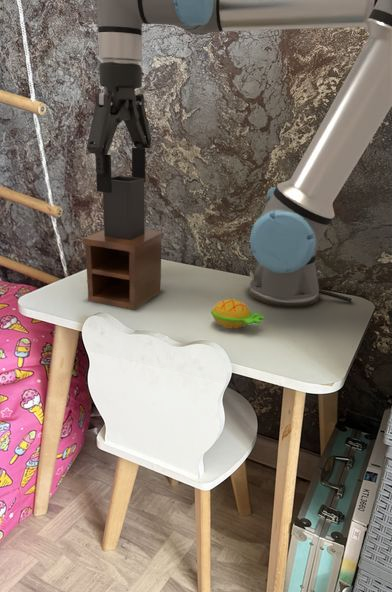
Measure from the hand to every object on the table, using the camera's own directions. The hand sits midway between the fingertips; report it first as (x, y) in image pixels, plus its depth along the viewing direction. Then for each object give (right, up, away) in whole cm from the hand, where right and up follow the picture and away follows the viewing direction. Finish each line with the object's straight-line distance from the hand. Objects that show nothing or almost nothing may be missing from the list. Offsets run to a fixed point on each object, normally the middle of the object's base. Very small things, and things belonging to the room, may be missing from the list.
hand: (122, 186), depth 102 cm
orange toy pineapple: (+22, -28, -2) cm, 35 cm away
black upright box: (0, -8, +4) cm, 10 cm away
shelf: (-1, -20, +10) cm, 23 cm away
